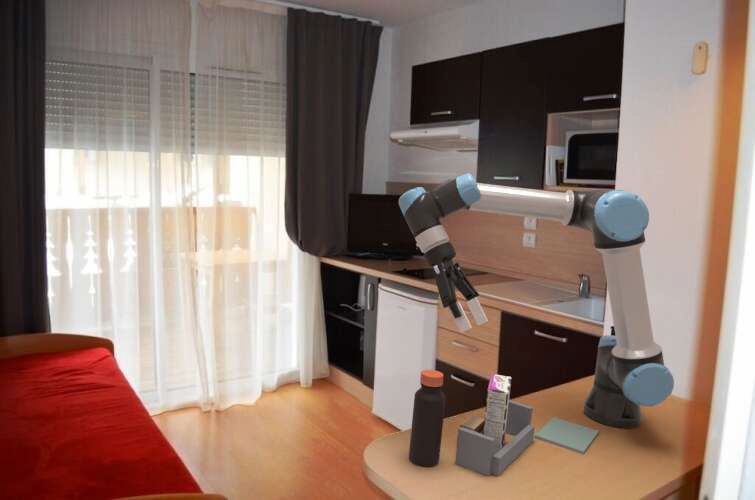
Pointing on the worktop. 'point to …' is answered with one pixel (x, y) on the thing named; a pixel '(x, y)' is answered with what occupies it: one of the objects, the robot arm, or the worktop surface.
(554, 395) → the worktop surface
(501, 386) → the candy bar box
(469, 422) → the offcut stack
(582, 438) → the mat
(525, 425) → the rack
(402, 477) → the worktop surface
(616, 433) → the worktop surface
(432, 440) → the bottle
